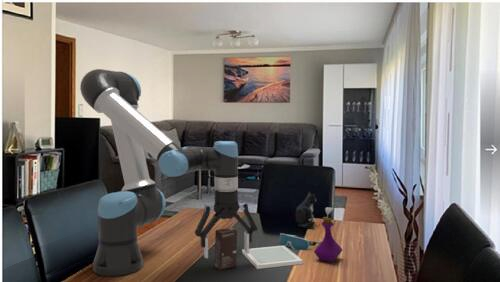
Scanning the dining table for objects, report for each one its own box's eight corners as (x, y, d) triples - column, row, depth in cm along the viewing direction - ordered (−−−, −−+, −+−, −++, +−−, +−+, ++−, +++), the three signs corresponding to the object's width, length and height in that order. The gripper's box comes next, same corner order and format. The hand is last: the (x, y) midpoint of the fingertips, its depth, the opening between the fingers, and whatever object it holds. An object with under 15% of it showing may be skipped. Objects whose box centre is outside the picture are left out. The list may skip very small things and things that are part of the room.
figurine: (322, 228, 180) (323, 194, 179) (301, 231, 177) (302, 196, 176) (311, 223, 189) (312, 190, 188) (291, 225, 186) (292, 191, 185)
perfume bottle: (334, 265, 137) (336, 211, 136) (313, 261, 141) (314, 208, 140) (342, 258, 144) (343, 207, 143) (321, 254, 148) (323, 204, 146)
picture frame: (257, 269, 134) (257, 265, 133) (242, 252, 149) (242, 249, 149) (302, 263, 139) (302, 260, 138) (283, 248, 154) (283, 245, 154)
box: (221, 270, 132) (221, 233, 131) (214, 266, 136) (214, 229, 135) (237, 266, 135) (237, 230, 134) (230, 262, 139) (230, 227, 138)
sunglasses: (272, 244, 159) (274, 231, 159) (294, 241, 170) (295, 228, 170) (304, 253, 150) (305, 239, 150) (325, 248, 161) (326, 235, 161)
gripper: (189, 194, 126) (190, 262, 128) (267, 189, 134) (266, 254, 135) (185, 189, 133) (186, 255, 135) (259, 185, 141) (259, 247, 143)
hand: (226, 254), depth 135 cm, fingers open, 13 cm apart
